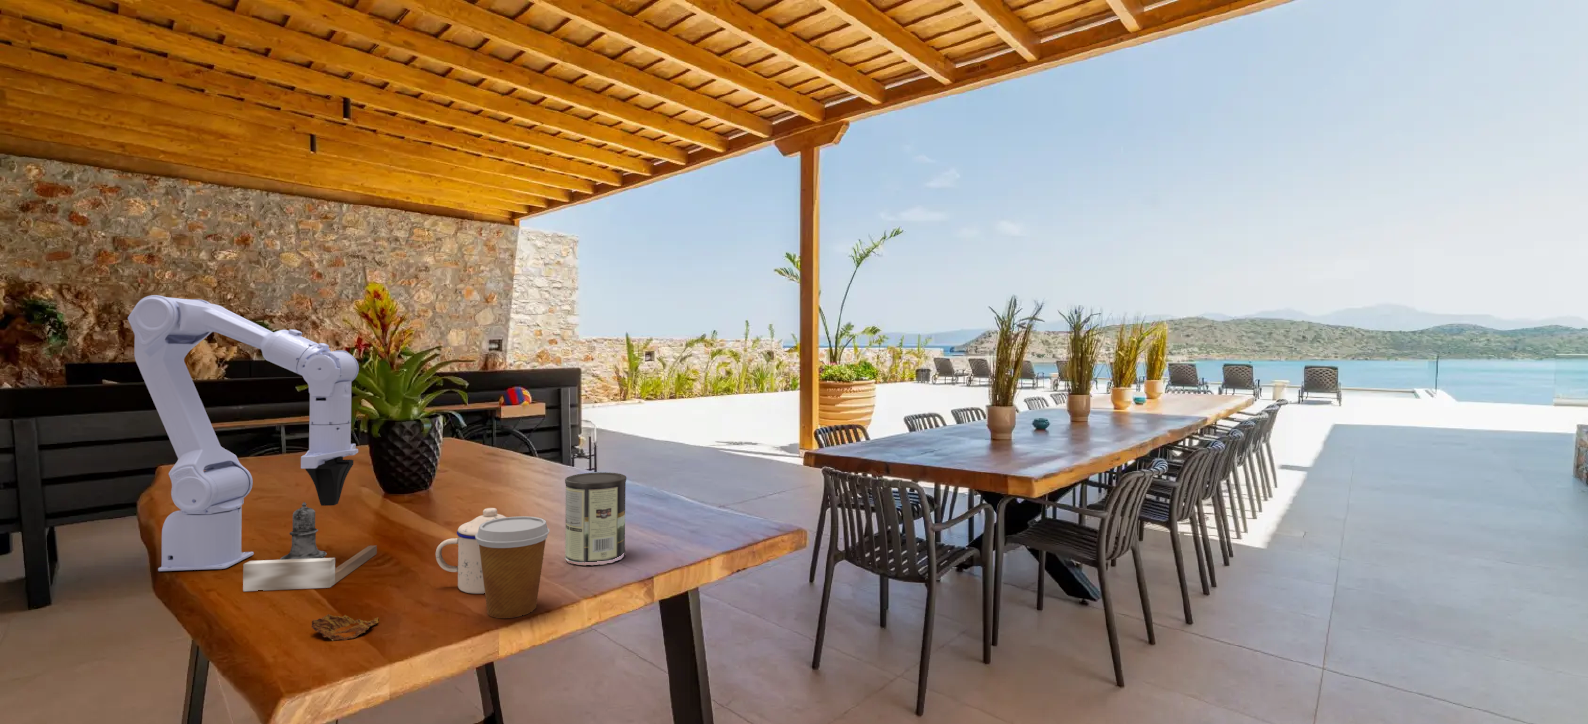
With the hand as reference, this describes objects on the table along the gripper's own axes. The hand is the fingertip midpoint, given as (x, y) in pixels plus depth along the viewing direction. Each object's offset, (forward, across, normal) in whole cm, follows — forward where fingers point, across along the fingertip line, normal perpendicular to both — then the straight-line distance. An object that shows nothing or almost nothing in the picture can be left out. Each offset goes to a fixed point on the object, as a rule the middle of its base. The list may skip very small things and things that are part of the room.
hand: (329, 504), depth 113 cm
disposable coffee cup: (+10, -26, -34) cm, 44 cm away
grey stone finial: (+10, -8, 0) cm, 13 cm away
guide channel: (+10, -4, 0) cm, 10 cm away
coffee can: (+10, -3, -43) cm, 44 cm away
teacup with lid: (+10, -15, -27) cm, 32 cm away
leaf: (+10, -30, -15) cm, 35 cm away
